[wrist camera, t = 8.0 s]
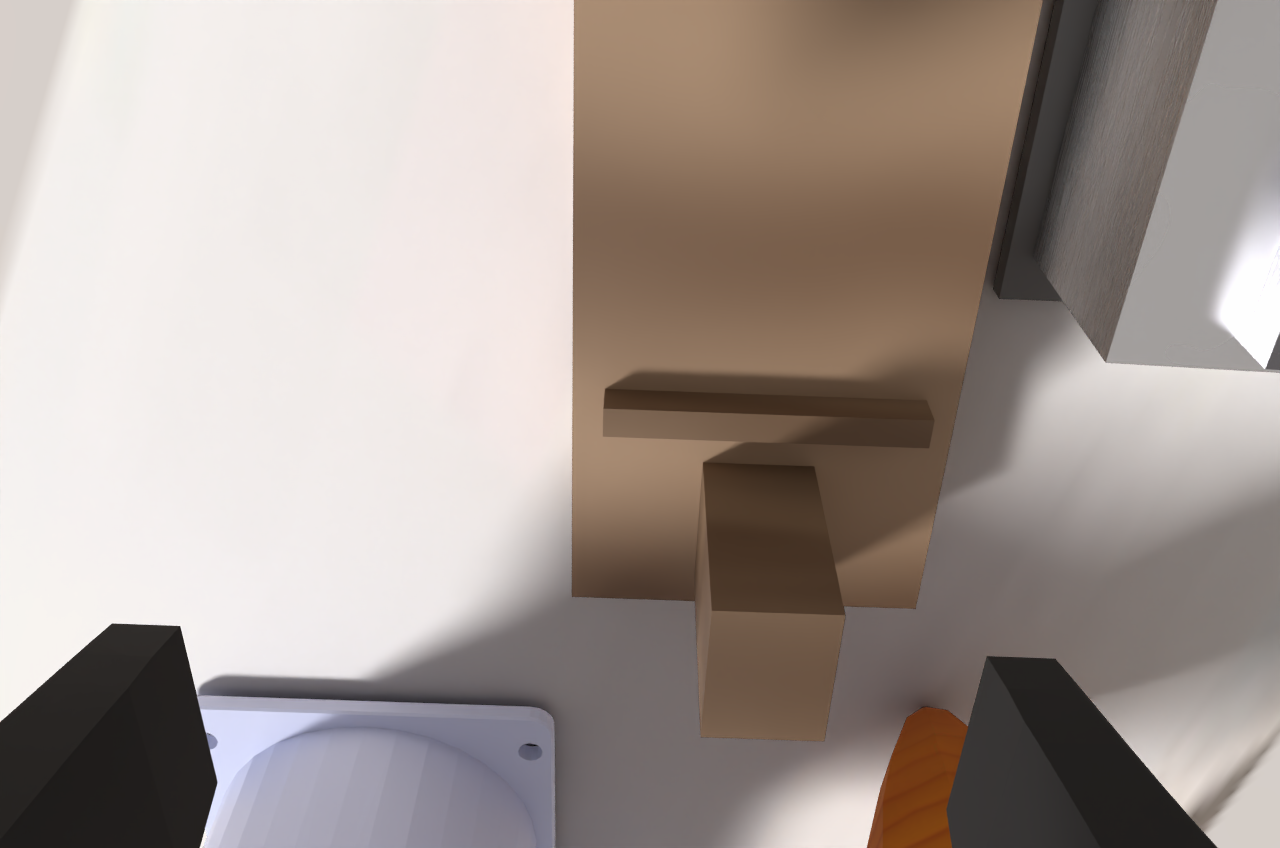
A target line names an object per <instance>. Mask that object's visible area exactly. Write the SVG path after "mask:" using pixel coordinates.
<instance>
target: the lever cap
mask: <svg viewBox="0 0 1280 848" xmlns="http://www.w3.org/2000/svg"><path fill="white" fill-rule="evenodd" d="M1033 258H1034V260H1035V261H1036V263H1037V264H1038V266H1039V267H1040V269H1041V270H1042V271H1043V273H1044V274H1045V276H1046V277H1047V279H1048V280H1049V282H1050V283H1051V284H1052V286H1053V287H1054V289H1055V290H1056V292H1057V293H1058V295H1059V296H1060V297H1061V299H1062V300H1063V302H1064V303H1065V305H1066V306H1067V308H1068V309H1069V310H1070V312H1071V313H1072V315H1073V316H1074V318H1075V319H1076V321H1077V322H1078V323H1079V325H1080V326H1081V328H1082V329H1083V331H1084V332H1085V333H1086V335H1087V336H1088V338H1089V339H1090V341H1091V342H1092V344H1093V345H1094V346H1095V348H1096V349H1097V351H1098V352H1099V354H1100V355H1101V357H1102V358H1103V359H1104V361H1105V362H1106V363H1120V364H1137V365H1155V366H1172V367H1189V368H1207V369H1224V370H1241V371H1259V372H1276V373H1280V0H1099V1H1098V5H1097V9H1096V12H1095V16H1094V20H1093V24H1092V28H1091V32H1090V36H1089V40H1088V44H1087V47H1086V51H1085V55H1084V59H1083V63H1082V67H1081V71H1080V75H1079V79H1078V83H1077V86H1076V90H1075V94H1074V98H1073V102H1072V106H1071V110H1070V114H1069V118H1068V122H1067V125H1066V129H1065V133H1064V137H1063V141H1062V145H1061V149H1060V153H1059V157H1058V161H1057V164H1056V168H1055V172H1054V176H1053V180H1052V184H1051V188H1050V192H1049V196H1048V199H1047V203H1046V207H1045V211H1044V215H1043V219H1042V223H1041V227H1040V231H1039V235H1038V238H1037V242H1036V246H1035V250H1034V254H1033Z"/></svg>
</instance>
